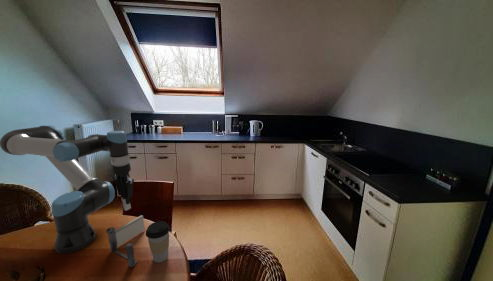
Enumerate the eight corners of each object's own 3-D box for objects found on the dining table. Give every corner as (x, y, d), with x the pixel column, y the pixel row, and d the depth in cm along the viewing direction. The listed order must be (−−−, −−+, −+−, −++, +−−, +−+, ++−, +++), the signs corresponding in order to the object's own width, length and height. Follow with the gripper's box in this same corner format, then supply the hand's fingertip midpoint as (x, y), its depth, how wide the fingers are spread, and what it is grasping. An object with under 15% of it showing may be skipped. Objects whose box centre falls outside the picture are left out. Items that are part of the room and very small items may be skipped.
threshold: (114, 252, 96) (114, 251, 96) (117, 250, 97) (117, 250, 97) (135, 263, 90) (135, 263, 90) (137, 262, 90) (137, 261, 90)
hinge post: (108, 251, 96) (104, 230, 94) (115, 246, 99) (112, 226, 97) (112, 254, 95) (109, 232, 92) (119, 249, 98) (116, 228, 95)
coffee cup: (164, 267, 88) (161, 235, 84) (144, 264, 90) (139, 232, 86) (176, 251, 97) (173, 221, 93) (157, 248, 99) (154, 218, 95)
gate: (117, 246, 98) (115, 231, 96) (116, 245, 98) (113, 230, 97) (144, 229, 110) (143, 215, 108) (143, 228, 110) (141, 215, 109)
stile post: (128, 266, 89) (125, 245, 86) (132, 263, 90) (129, 242, 88) (131, 267, 88) (128, 246, 85) (135, 265, 89) (132, 244, 87)
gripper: (104, 164, 101) (112, 209, 107) (121, 168, 95) (128, 216, 101) (120, 159, 108) (126, 202, 113) (137, 163, 102) (143, 208, 107)
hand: (127, 209), depth 107 cm, fingers closed
